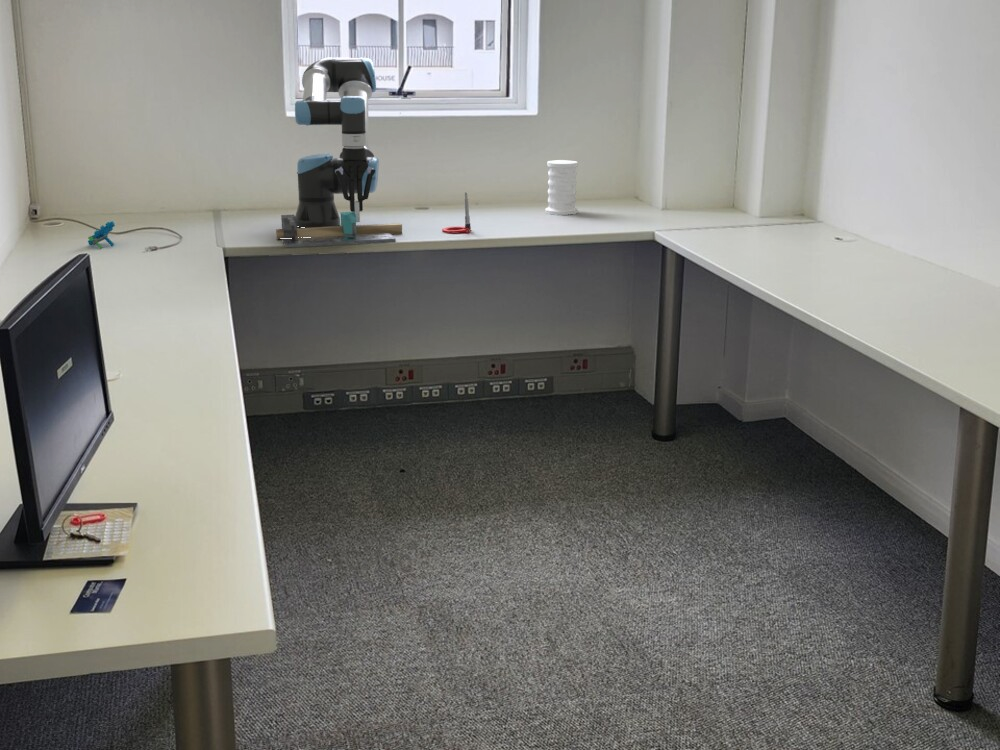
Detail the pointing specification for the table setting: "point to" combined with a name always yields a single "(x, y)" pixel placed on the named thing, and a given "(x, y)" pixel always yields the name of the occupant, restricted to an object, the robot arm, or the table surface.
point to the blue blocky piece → (102, 235)
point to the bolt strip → (338, 240)
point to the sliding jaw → (348, 223)
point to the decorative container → (562, 187)
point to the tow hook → (467, 221)
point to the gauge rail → (331, 229)
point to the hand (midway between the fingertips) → (356, 221)
